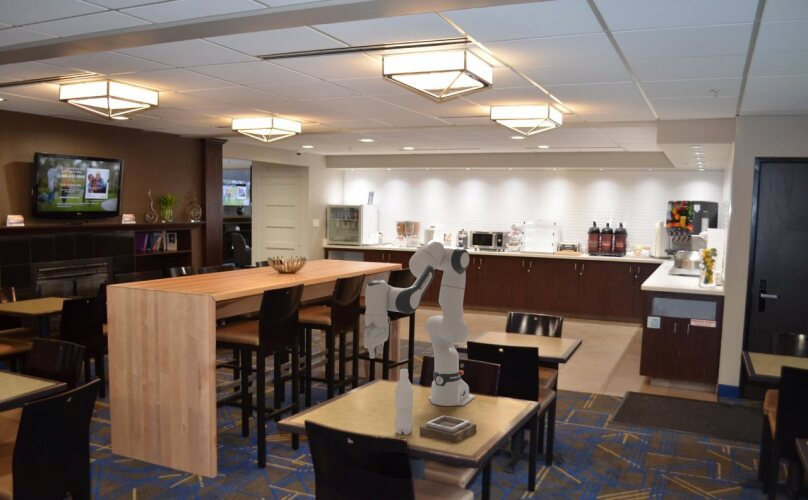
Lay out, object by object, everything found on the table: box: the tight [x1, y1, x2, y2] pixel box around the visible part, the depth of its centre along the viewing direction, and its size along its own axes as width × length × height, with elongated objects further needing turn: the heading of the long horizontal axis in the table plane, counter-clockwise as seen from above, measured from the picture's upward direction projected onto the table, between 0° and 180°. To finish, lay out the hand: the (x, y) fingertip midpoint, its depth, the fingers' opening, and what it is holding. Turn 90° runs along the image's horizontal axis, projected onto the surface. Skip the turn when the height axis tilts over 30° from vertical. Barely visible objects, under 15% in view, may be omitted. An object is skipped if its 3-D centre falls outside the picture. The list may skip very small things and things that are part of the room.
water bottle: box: [394, 368, 414, 436], centre depth 253 cm, size 7×7×25 cm
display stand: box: [419, 414, 477, 444], centre depth 253 cm, size 16×16×4 cm
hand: (376, 355), depth 258 cm, fingers open, 8 cm apart
